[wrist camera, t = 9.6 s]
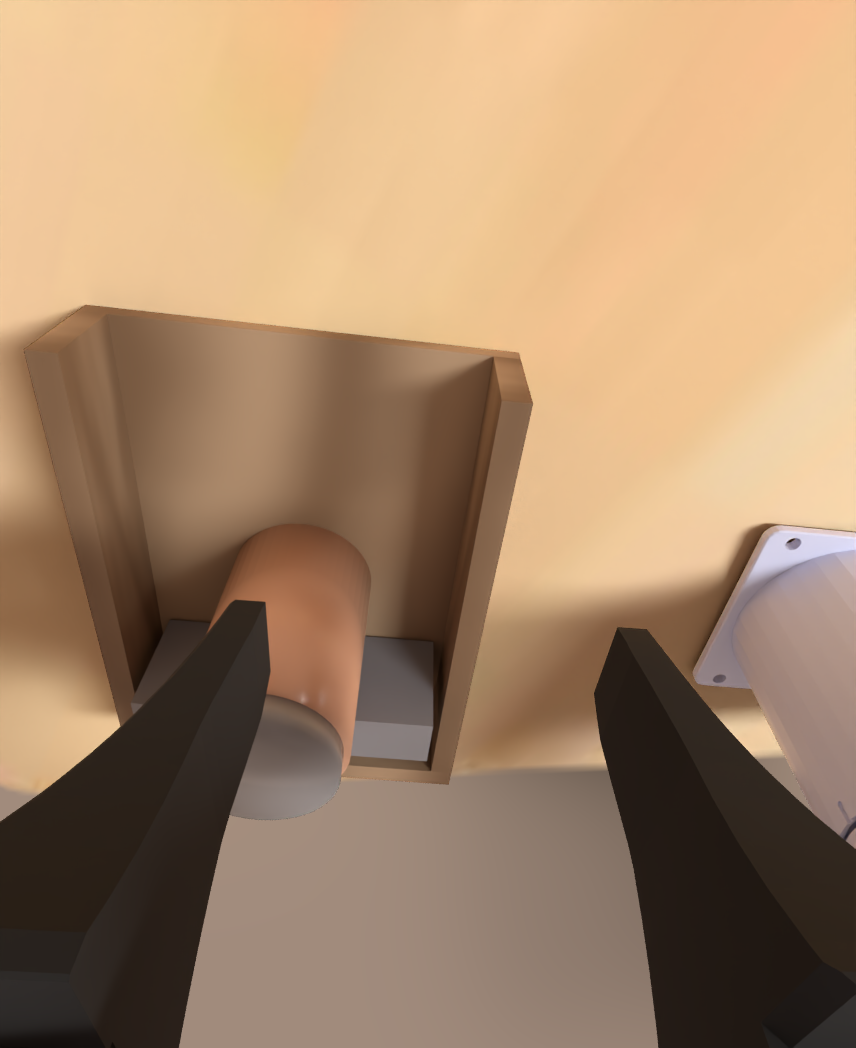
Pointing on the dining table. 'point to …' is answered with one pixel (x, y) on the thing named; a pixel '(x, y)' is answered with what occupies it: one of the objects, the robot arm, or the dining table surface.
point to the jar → (302, 665)
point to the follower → (383, 699)
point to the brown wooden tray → (282, 478)
